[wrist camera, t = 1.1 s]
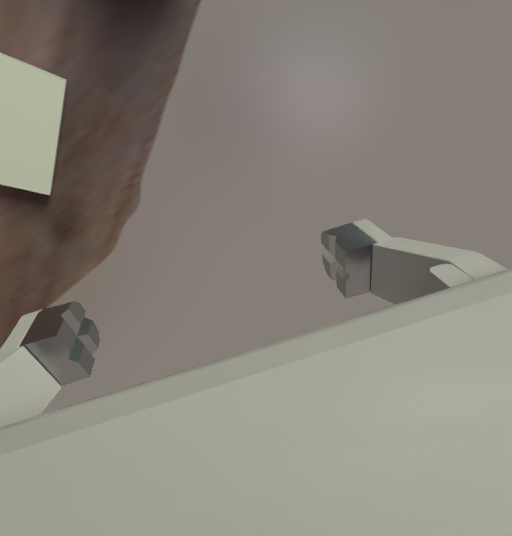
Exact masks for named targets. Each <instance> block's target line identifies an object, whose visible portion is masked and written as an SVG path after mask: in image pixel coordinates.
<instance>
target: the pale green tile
mask: <svg viewBox="0 0 512 536" xmlns="http://www.w3.org/2000/svg"><path fill="white" fill-rule="evenodd" d="M66 85H67V80H66V79H64V78H61V77H59V76H56V75H54V74H52V73H49V72H47V71H44V70H42V69H39V68H37V67H34V66H32V65H30V64H27V63H25V62H22V61H20V60H17V59H15V58H12V57H10V56H7V55H5V54H3V53H0V184H1V185H6V186H10V187H15V188H19V189H24V190H28V191H33V192H37V193H42V194H46V195H50V193H51V190H52V184H53V177H54V170H55V163H56V156H57V149H58V142H59V135H60V128H61V121H62V114H63V107H64V100H65V93H66Z"/></svg>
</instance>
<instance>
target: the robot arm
mask: <svg viewBox="0 0 512 536" xmlns="http://www.w3.org/2000/svg"><path fill="white" fill-rule="evenodd" d="M321 243H322V244H323V245H324V247H325V250H324V252H323V254H322V257H323V264H324V267H325V270H326V272H327V274H328V276H329V277H330V278H331V279H332V280H336V281H337V288H338V289H339V290H340V291H341V293H342V294H343V295H344V297H345V298H350V297H353V296H357V295H361V294H364V293H368V292H371V293H372V294H374V295H376V296H378V297H381V298H383V299H385V300H387V301H389V302H391V303H394V304H395V305H392V306H389V307H386V308H383V309H379V310H376V311H373V312H370V313H367V314H364V315H360V316H357V317H354V318H350V319H347V320H344V321H341V322H338V323H334V324H331V325H328V326H325V327H321V328H318V329H315V330H312V331H309V332H305V333H302V334H299V335H296V336H293V337H289V338H286V339H283V340H280V341H276V342H273V343H270V344H267V345H264V346H261V347H258V348H254V349H251V350H248V351H245V352H241V353H238V354H235V355H231V356H229V357H225V358H222V359H219V360H216V361H212V362H209V363H206V364H203V365H199V366H196V367H193V368H190V369H187V370H183V371H180V372H177V373H174V374H170V375H167V376H164V377H161V378H157V379H154V380H151V381H148V382H145V383H142V384H139V385H135V386H132V387H128V388H125V389H122V390H119V391H116V392H113V393H109V394H106V395H103V396H100V397H97V398H93V399H90V400H87V401H84V402H80V403H77V404H74V405H71V406H67V407H64V408H61V409H58V410H54V411H51V412H48V413H45V414H42V415H40V414H41V413H42V412H43V411H44V409H45V408H46V407H47V405H48V404H49V403H50V402H51V400H52V399H53V398H54V397H55V395H56V394H57V393H58V391H59V390H60V389H61V388H62V387H61V386H63V385H65V384H69V383H72V382H75V381H78V380H81V379H84V378H87V377H90V374H91V371H92V367H93V364H94V360H95V359H94V357H93V356H92V354H93V353H94V352H95V351H96V350H97V349H98V346H99V342H100V339H99V332H98V329H97V327H96V325H95V323H94V322H93V321H92V320H90V319H88V318H86V317H84V315H85V309H84V308H83V307H82V305H81V304H80V303H79V302H76V301H73V302H69V303H66V304H62V305H58V306H54V307H50V308H47V309H43V310H38V311H35V312H32V313H29V314H26V315H24V316H22V317H21V319H20V320H19V322H18V323H17V325H16V326H15V328H14V330H13V331H12V333H11V334H10V336H9V337H8V339H7V340H6V342H5V344H4V345H3V347H2V348H1V350H0V536H512V268H511V269H508V270H507V269H506V268H504V267H502V266H501V265H499V264H497V263H495V262H494V261H492V260H490V259H489V258H487V257H485V256H483V255H482V254H480V253H478V252H473V251H468V250H462V249H457V248H452V247H447V246H441V245H436V244H431V243H425V242H420V241H414V240H409V239H404V238H399V237H397V238H391V237H390V236H389V235H387V234H386V233H384V232H383V231H382V230H381V229H379V228H378V227H377V226H375V225H374V224H373V223H371V222H370V221H368V220H367V219H361V220H358V221H355V222H352V223H348V224H345V225H342V226H339V227H336V228H332V229H329V230H326V231H323V232H322V234H321Z"/></svg>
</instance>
